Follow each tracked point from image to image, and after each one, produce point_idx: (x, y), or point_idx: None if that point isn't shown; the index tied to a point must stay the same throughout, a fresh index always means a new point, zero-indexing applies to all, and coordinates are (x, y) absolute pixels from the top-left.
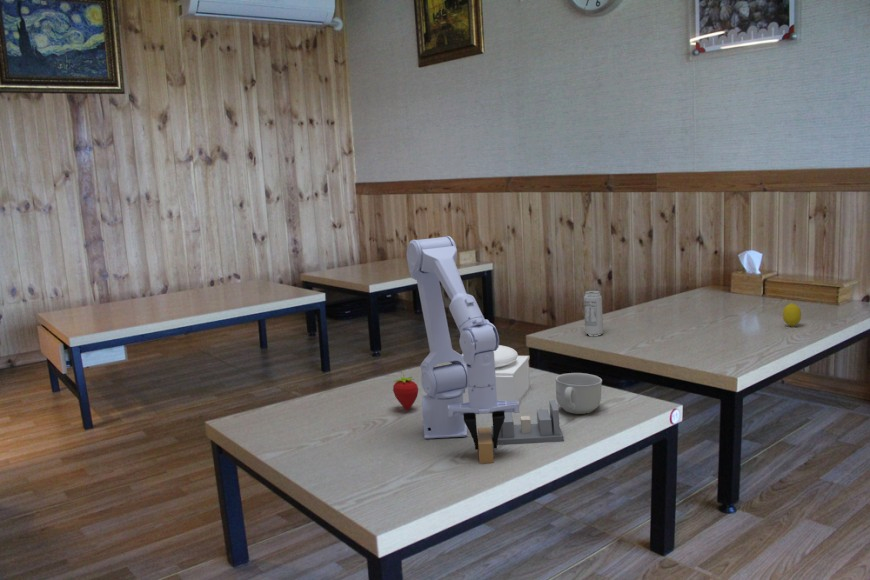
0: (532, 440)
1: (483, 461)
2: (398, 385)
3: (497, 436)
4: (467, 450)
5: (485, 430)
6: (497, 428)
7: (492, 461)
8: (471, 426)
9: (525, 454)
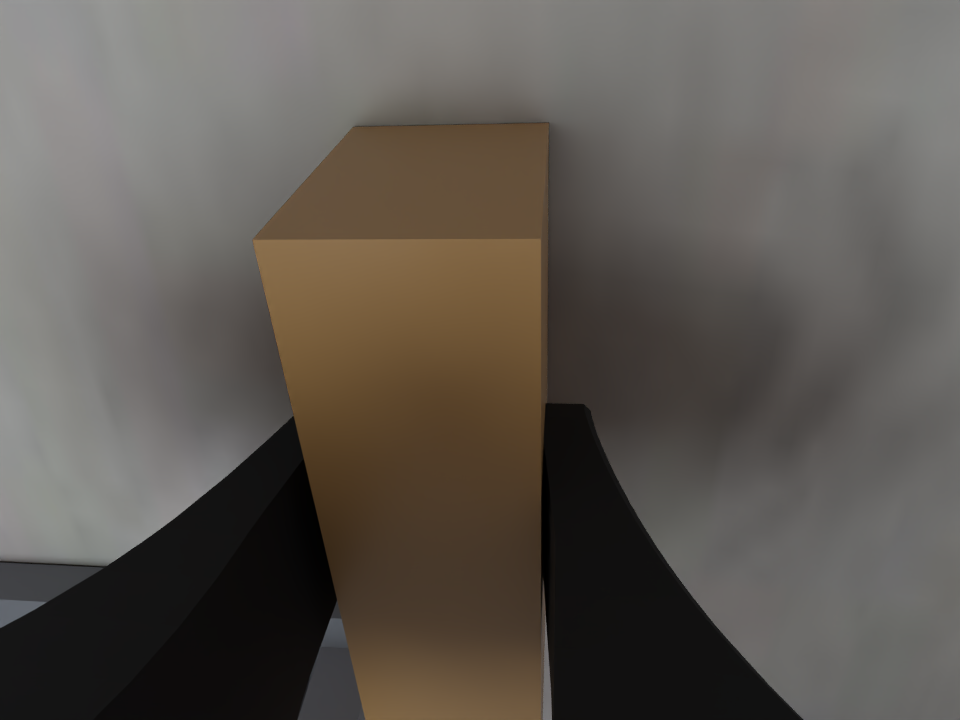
0: (33, 581)
1: (489, 130)
2: None
3: (212, 496)
4: (671, 514)
5: (434, 709)
6: (114, 597)
7: (362, 129)
8: (679, 697)
9: (21, 328)
